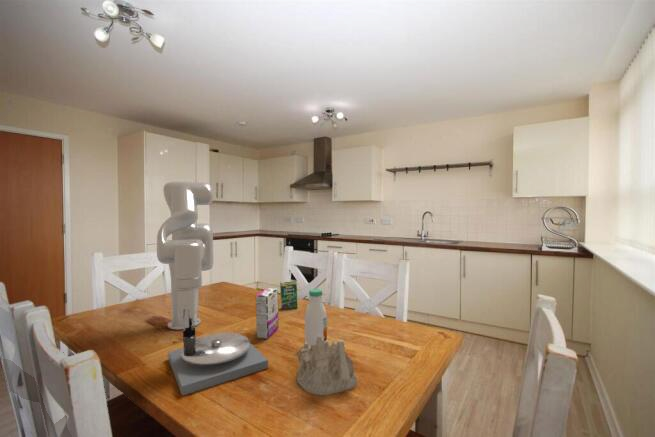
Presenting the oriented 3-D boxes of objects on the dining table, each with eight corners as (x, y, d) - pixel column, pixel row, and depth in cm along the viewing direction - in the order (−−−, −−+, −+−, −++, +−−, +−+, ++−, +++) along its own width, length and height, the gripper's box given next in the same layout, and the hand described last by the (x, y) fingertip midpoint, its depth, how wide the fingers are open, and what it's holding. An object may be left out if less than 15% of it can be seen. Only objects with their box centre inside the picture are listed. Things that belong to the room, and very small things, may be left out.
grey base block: (168, 359, 99) (168, 348, 99) (241, 340, 113) (241, 331, 112) (182, 395, 79) (181, 382, 79) (268, 368, 93) (267, 356, 93)
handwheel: (233, 333, 110) (232, 314, 110) (260, 353, 95) (260, 330, 95) (173, 350, 97) (172, 329, 96) (194, 376, 82) (193, 350, 81)
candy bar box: (267, 327, 126) (266, 287, 125) (278, 328, 125) (278, 288, 124) (255, 338, 115) (255, 295, 114) (268, 339, 114) (267, 295, 113)
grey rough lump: (362, 389, 82) (358, 332, 82) (301, 400, 78) (298, 341, 78) (345, 364, 97) (342, 316, 97) (294, 373, 93) (291, 323, 93)
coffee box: (280, 309, 147) (280, 283, 147) (280, 308, 150) (280, 281, 150) (297, 308, 149) (297, 282, 149) (296, 306, 152) (296, 280, 152)
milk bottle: (319, 353, 102) (318, 294, 102) (300, 348, 106) (300, 291, 106) (331, 344, 109) (330, 289, 108) (313, 340, 113) (312, 286, 112)
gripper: (179, 278, 99) (180, 333, 100) (169, 289, 85) (171, 354, 86) (204, 276, 101) (204, 331, 102) (198, 287, 87) (199, 350, 88)
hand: (189, 341), depth 94 cm, fingers closed
